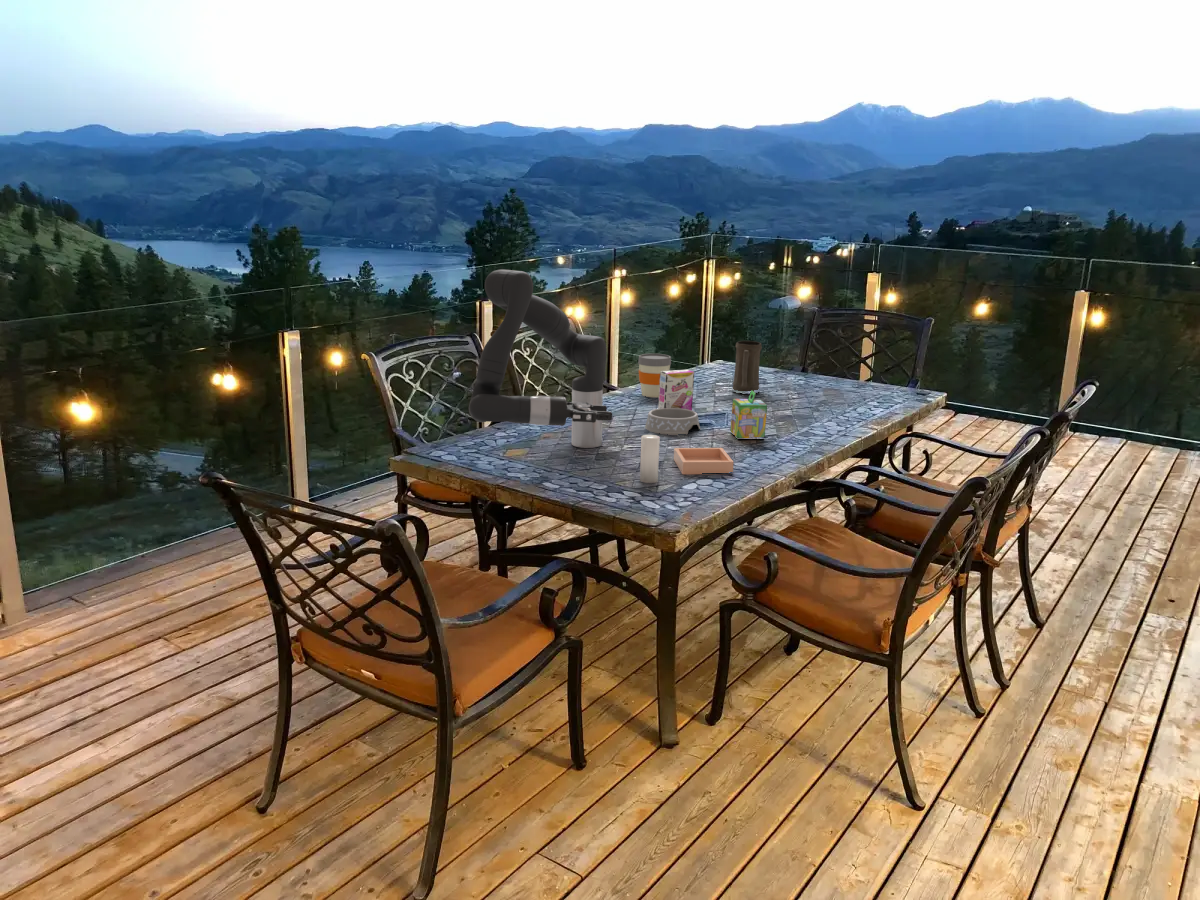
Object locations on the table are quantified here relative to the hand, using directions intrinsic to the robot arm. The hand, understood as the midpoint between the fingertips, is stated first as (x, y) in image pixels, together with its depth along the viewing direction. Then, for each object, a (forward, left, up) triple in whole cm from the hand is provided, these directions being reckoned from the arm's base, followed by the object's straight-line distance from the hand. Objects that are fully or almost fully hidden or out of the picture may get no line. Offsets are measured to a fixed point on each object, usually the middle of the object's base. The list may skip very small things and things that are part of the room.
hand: (609, 412), depth 229 cm
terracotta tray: (-12, +28, -18) cm, 36 cm away
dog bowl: (-56, +27, -19) cm, 65 cm away
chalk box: (-44, +49, -19) cm, 68 cm away
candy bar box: (-69, +30, -19) cm, 77 cm away
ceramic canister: (0, +11, -18) cm, 22 cm away
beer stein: (-109, +65, -19) cm, 128 cm away
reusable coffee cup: (-106, +28, -19) cm, 111 cm away
